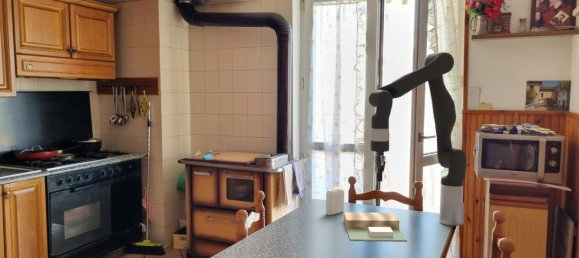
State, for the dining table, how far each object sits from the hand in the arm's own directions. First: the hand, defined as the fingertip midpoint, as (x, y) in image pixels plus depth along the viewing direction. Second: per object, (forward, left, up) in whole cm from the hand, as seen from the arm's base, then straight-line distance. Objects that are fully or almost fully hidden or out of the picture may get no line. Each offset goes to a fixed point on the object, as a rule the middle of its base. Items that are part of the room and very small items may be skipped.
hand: (379, 181), depth 179 cm
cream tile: (0, +5, -19) cm, 19 cm away
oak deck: (+2, -8, -21) cm, 23 cm away
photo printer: (+16, -27, -21) cm, 38 cm away
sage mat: (+2, +5, -21) cm, 22 cm away
